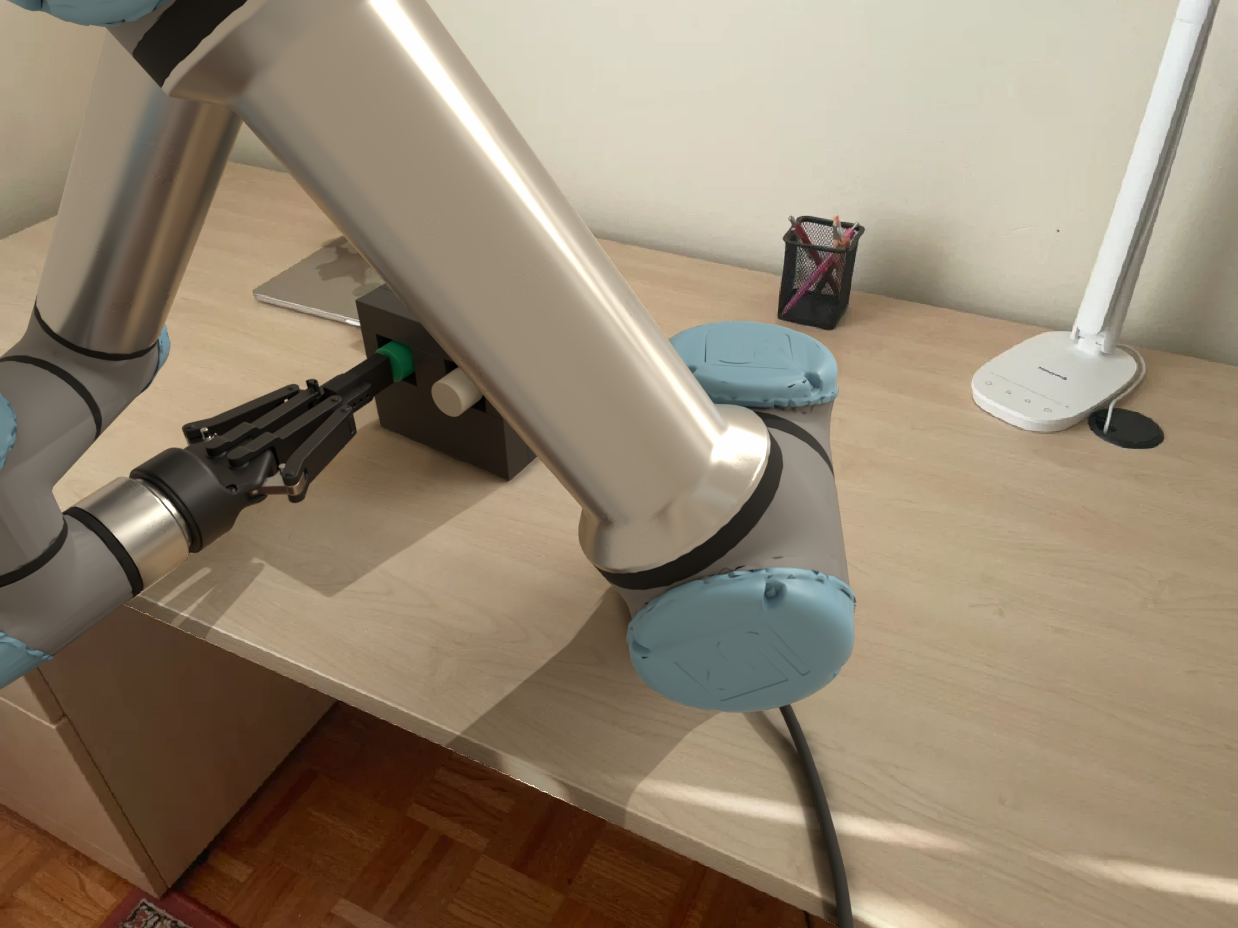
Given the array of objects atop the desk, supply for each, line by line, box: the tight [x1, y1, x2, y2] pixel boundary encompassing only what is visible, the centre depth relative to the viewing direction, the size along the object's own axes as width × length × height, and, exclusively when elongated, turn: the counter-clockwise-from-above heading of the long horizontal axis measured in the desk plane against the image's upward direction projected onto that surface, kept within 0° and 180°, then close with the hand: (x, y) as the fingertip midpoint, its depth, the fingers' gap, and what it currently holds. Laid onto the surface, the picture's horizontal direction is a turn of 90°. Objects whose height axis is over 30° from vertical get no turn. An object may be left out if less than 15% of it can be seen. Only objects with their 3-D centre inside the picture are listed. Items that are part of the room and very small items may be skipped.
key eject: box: [432, 367, 483, 417], centre depth 79 cm, size 3×3×3 cm
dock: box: [354, 282, 538, 482], centre depth 85 cm, size 8×16×14 cm, turn 58°
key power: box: [375, 340, 415, 382], centre depth 83 cm, size 3×3×3 cm
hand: (385, 367), depth 82 cm, fingers closed
